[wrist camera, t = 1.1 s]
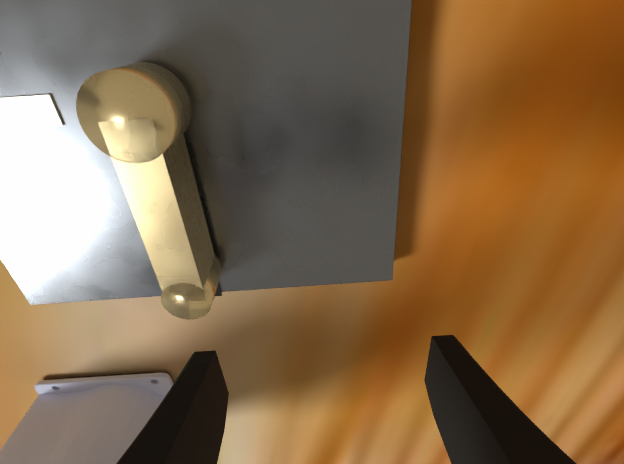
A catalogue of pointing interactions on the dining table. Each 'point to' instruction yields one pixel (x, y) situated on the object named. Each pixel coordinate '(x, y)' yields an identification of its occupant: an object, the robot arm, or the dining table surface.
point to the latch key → (155, 176)
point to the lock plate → (207, 140)
